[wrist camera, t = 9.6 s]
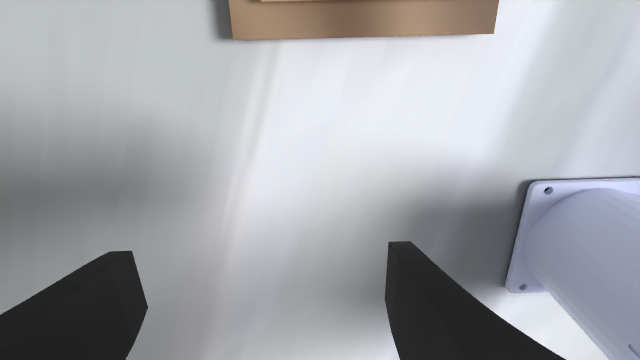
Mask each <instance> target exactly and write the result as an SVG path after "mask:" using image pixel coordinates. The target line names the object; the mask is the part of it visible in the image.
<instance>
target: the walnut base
mask: <svg viewBox="0 0 640 360" xmlns="http://www.w3.org/2000/svg"><path fill="white" fill-rule="evenodd" d="M498 3H499V0H229V9H230V18H231V27H232V36H233V40H264V39H303V38H343V37H382V36H422V35H462V34H494V28H495V22H496V16H497V9H498Z"/></svg>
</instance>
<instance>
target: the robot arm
mask: <svg viewBox="0 0 640 360" xmlns="http://www.w3.org/2000/svg"><path fill="white" fill-rule="evenodd" d="M547 187H549V189H548V190H547V191H546V192H544V190H545V189H546V188H547ZM522 284H523V285H522ZM520 285H522V286H520ZM505 287H506V288H507V290H508V291H509V292H511V293H527V292H549V293H550V294H551V296H552V297H553V298H554V299H555V300H556V301H557V302H558V303H559V304H560V305H561V307H562V308H563V309H564V310H565V311H566V312H567V313H568V314H569V315H570V317H571V318H572V319H573V320H574V321H575V322H576V323H577V324H578V325H579V327H580V328H581V329H582V330H583V331H584V332H585V333H586V334H587V335H588V336H589V338H590V339H591V340H592V341H593V342H594V343H595V344H596V345H597V346H598V348H599V349H600V350H601V351H602V352H603V353H604V354H605V355H606V356H607V358H608V359H609V360H640V178H612V179H581V180H550V181H535V182H533V183H532V184H531V185H530V186H529V188H528V191H527V195H526V199H525V204H524V208H523V212H522V216H521V220H520V225H519V229H518V233H517V237H516V242H515V246H514V250H513V254H512V258H511V263H510V267H509V271H508V275H507V279H506V284H505ZM385 302H386V307H387V312H388V318H389V322H390V327H391V332H392V335H393V339H394V342H395V345H396V348H397V351H398V354H399V357H400V360H566V359H564V358H562V357H560V356H559V355H557V354H555V353H554V352H552V351H551V350H549V349H547V348H546V347H544V346H542V345H541V344H539V343H538V342H536V341H535V340H533V339H532V338H530V337H529V336H527V335H526V334H524V333H523V332H521V331H520V330H518V329H517V328H515V327H514V326H512V325H511V324H509V323H508V322H506V321H505V320H504V319H502V318H501V317H499V316H498V315H497V314H495V313H494V312H493V311H491V310H490V309H489V308H487V307H486V306H485V305H483V304H482V303H481V302H480V301H478V300H477V299H476V298H474V297H473V296H472V295H471V294H469V293H468V292H467V291H466V290H464V289H463V288H462V287H461V286H460V285H458V284H457V283H456V282H455V281H454V280H453V279H451V278H450V277H449V276H448V275H447V274H446V273H445V272H443V271H442V270H441V269H440V268H439V267H438V266H437V265H436V264H435V263H433V262H432V261H431V260H430V259H429V258H428V257H427V256H426V255H425V254H424V253H423V252H422V251H420V250H419V249H418V248H417V247H416V246H415V245H414V244H413V243H412V242H410V241H403V242H389V245H388V260H387V275H386V290H385ZM147 309H148V306H147V303H146V299H145V295H144V292H143V288H142V285H141V281H140V278H139V274H138V271H137V267H136V264H135V260H134V257H133V253H132V251H113V252H108V253H106V254H104V255H102V256H100V257H98V258H96V259H95V260H93V261H91V262H89V263H88V264H86V265H84V266H82V267H81V268H79V269H77V270H76V271H74V272H72V273H71V274H69V275H67V276H66V277H64V278H62V279H61V280H59V281H57V282H56V283H54V284H52V285H51V286H49V287H47V288H46V289H44V290H42V291H41V292H39V293H37V294H36V295H34V296H32V297H31V298H29V299H27V300H26V301H24V302H22V303H20V304H19V305H17V306H15V307H13V308H11V309H10V310H8V311H6V312H4V313H3V314H1V315H0V360H125V359H126V357H127V356H128V354H129V352H130V350H131V348H132V346H133V344H134V342H135V340H136V337H137V335H138V333H139V330H140V328H141V325H142V322H143V320H144V317H145V314H146V312H147Z"/></svg>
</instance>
